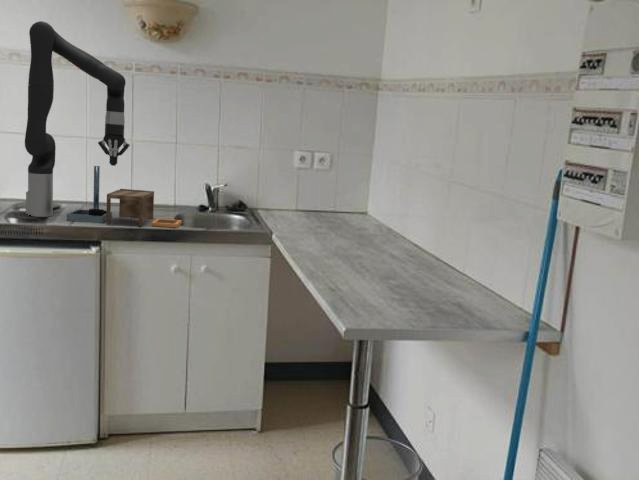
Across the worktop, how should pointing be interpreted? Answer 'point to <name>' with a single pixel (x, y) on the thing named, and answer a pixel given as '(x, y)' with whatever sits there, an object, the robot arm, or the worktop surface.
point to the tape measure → (96, 212)
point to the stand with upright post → (83, 214)
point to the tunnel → (132, 204)
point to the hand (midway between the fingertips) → (113, 165)
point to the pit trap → (166, 223)
